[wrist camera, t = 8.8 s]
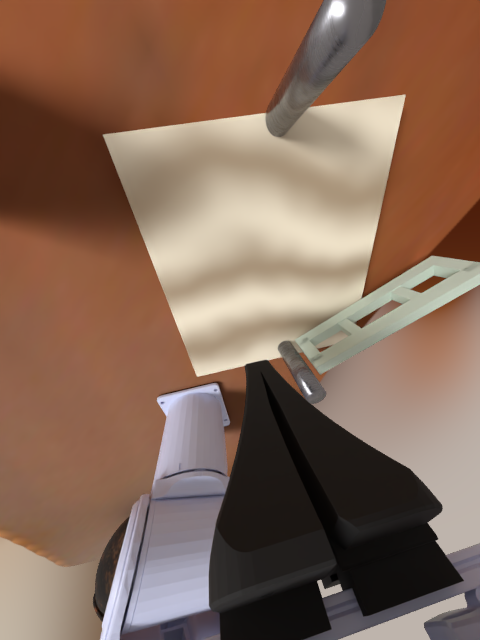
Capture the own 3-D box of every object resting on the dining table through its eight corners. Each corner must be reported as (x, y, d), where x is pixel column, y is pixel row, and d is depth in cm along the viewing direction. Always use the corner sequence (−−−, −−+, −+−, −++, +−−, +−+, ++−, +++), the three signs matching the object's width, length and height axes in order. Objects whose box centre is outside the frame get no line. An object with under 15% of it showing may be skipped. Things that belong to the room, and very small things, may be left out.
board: (347, 336, 23) (352, 340, 22) (197, 370, 22) (197, 376, 21) (392, 103, 13) (405, 94, 12) (110, 141, 11) (102, 134, 11)
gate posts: (292, 350, 22) (325, 400, 15) (277, 354, 21) (305, 405, 15) (291, 95, 11) (395, -59, 5) (264, 99, 11) (335, -54, 5)
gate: (298, 346, 21) (320, 374, 17) (294, 339, 20) (315, 367, 16) (432, 265, 18) (492, 276, 14) (431, 255, 18) (495, 264, 14)
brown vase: (104, 503, 34) (-148, 1190, 10) (198, 485, 37) (183, 975, 13) (126, 531, 42) (20, 939, 18) (201, 515, 46) (196, 845, 21)
